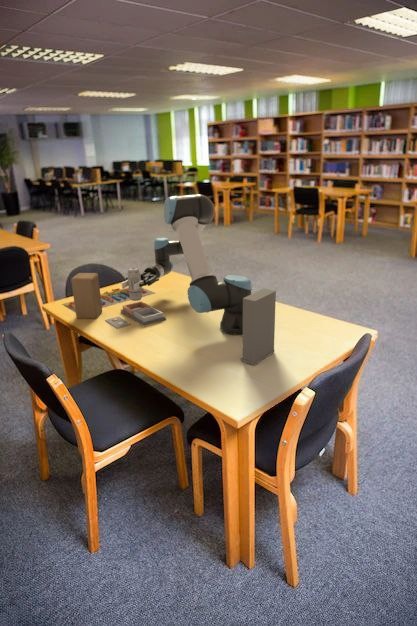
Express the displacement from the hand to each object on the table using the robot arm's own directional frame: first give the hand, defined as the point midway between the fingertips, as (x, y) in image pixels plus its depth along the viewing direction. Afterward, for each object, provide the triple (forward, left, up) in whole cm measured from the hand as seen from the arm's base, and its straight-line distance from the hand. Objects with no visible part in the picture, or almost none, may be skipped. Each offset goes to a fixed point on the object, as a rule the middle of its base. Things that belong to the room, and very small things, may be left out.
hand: (128, 286), depth 204 cm
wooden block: (+14, +15, -15) cm, 26 cm away
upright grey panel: (-69, -17, -15) cm, 73 cm away
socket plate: (-3, -4, -15) cm, 16 cm away
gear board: (+31, -3, -16) cm, 34 cm away
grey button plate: (-3, +9, -15) cm, 17 cm away
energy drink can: (+3, -5, -8) cm, 10 cm away
